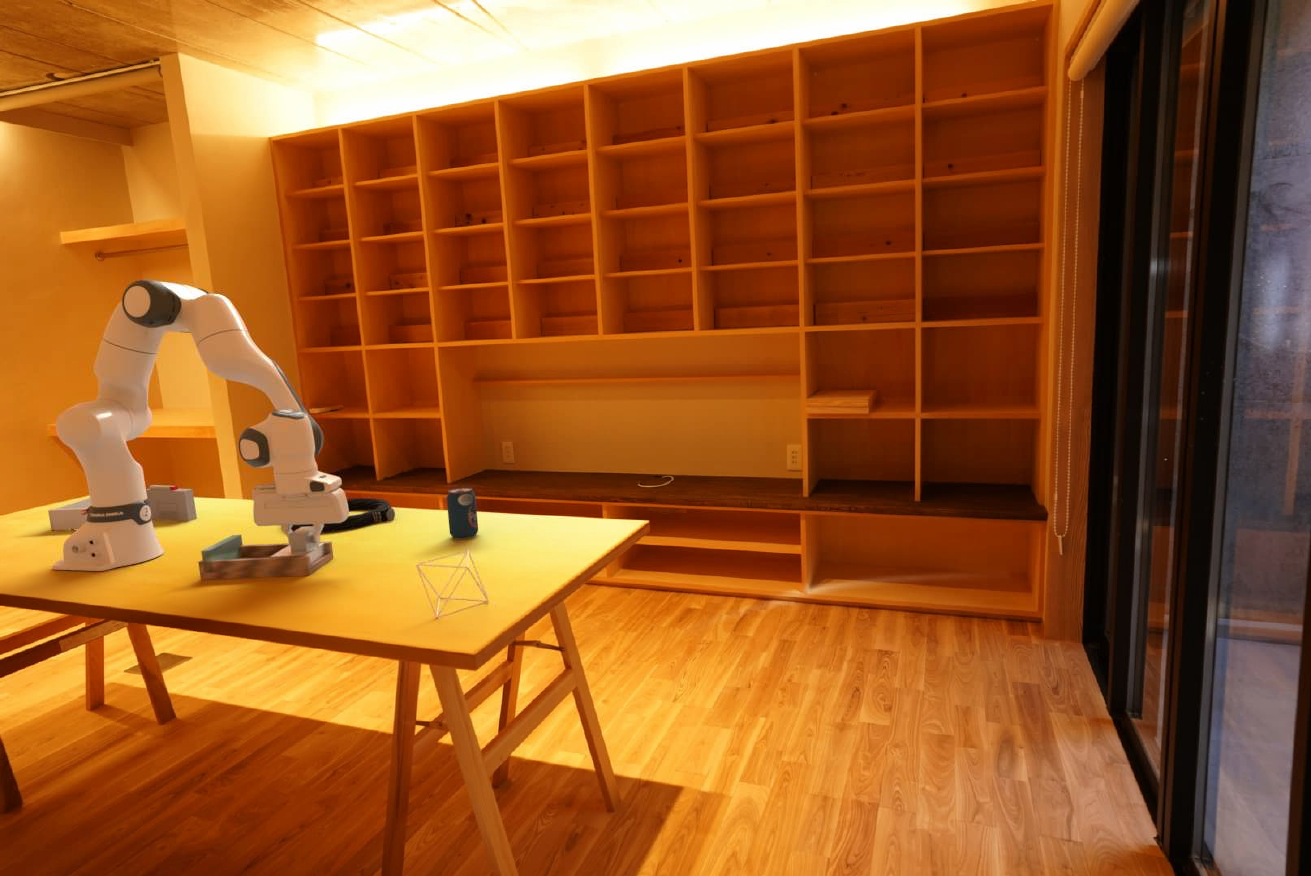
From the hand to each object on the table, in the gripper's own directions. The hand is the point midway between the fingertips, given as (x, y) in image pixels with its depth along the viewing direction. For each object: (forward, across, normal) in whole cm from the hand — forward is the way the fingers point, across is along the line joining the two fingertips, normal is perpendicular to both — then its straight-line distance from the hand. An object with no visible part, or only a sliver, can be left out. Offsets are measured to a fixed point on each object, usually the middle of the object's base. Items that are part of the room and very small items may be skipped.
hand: (304, 543), depth 171 cm
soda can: (+6, +30, +20) cm, 37 cm away
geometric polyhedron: (+6, +41, -27) cm, 50 cm away
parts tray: (+6, -88, +54) cm, 103 cm away
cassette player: (+6, -65, +51) cm, 83 cm away
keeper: (+4, -2, 0) cm, 4 cm away
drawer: (+6, -9, 0) cm, 10 cm away
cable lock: (+6, -10, +42) cm, 44 cm away
